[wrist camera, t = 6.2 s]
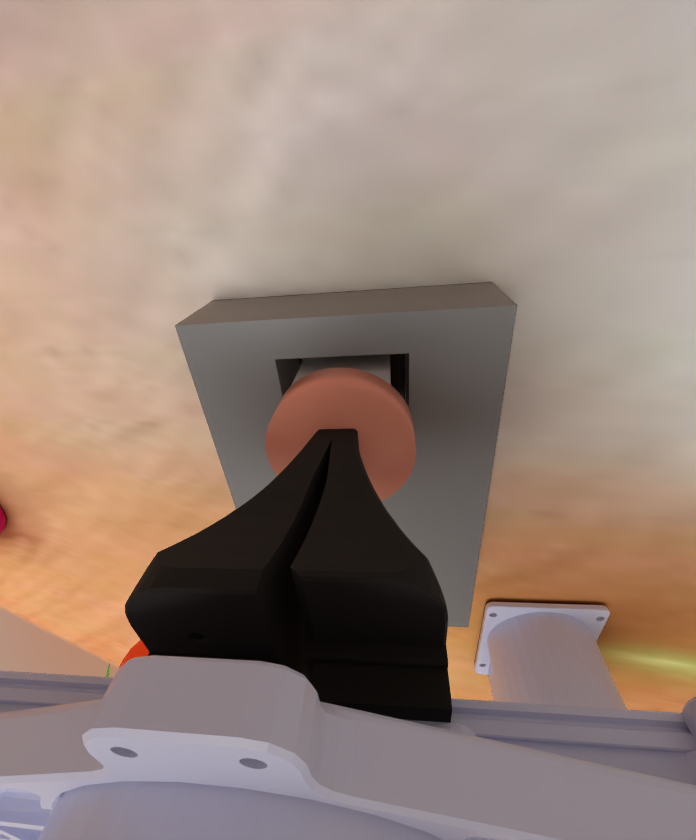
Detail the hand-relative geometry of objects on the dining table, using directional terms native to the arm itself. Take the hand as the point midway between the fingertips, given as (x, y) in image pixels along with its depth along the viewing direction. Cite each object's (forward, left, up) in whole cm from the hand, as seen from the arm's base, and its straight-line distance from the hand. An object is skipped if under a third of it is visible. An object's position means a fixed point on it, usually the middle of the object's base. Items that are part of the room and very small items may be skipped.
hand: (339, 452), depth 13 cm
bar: (-6, 0, -6) cm, 8 cm away
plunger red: (0, 0, -5) cm, 5 cm away
